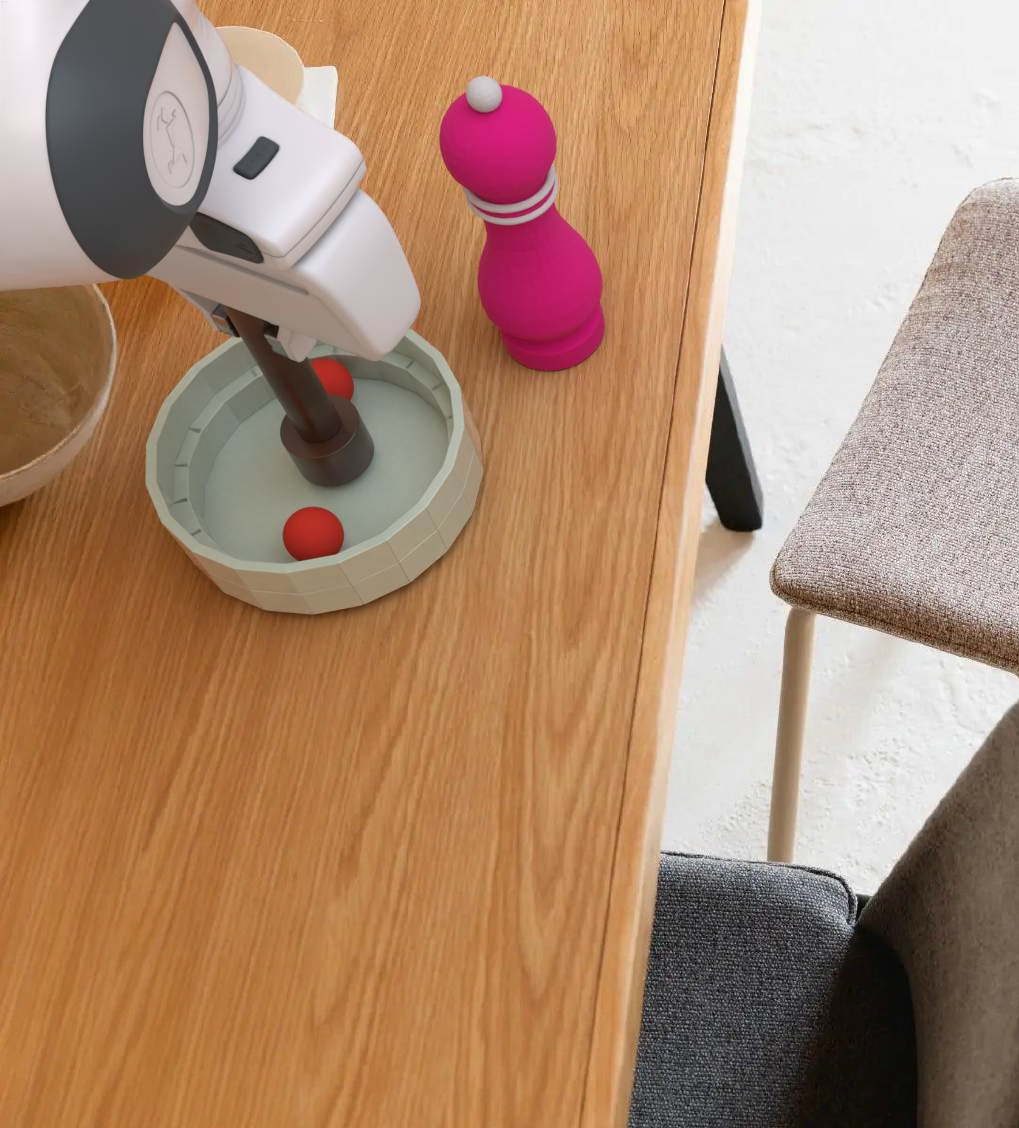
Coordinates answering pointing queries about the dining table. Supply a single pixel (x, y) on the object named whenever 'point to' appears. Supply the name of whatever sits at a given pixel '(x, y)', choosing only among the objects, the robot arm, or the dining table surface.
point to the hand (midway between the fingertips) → (267, 336)
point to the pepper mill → (523, 227)
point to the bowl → (277, 488)
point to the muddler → (309, 412)
